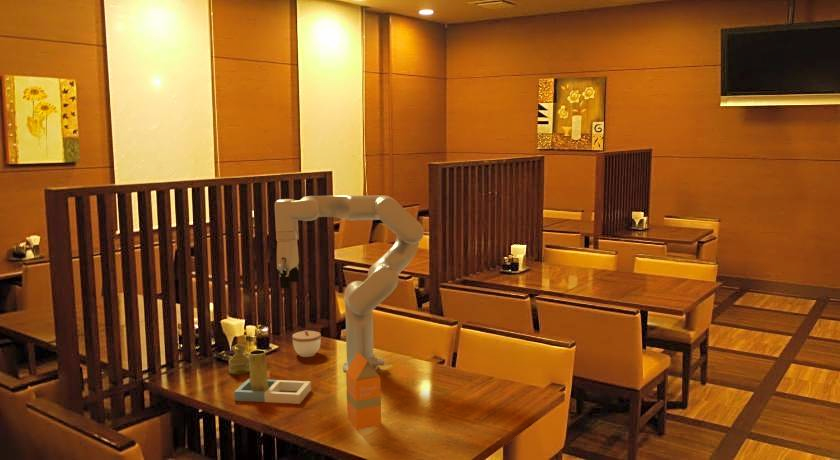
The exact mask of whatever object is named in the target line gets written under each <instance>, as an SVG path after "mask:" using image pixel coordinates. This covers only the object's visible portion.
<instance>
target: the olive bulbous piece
mask: <svg viewBox="0 0 840 460" xmlns="http://www.w3.org/2000/svg"><path fill="white" fill-rule="evenodd" d="M246 348H247V347H246V345H244V344H241V343H236V344H234V345H232V346H231V349H230V350H231V351H233V352H234V354H233V356H232V357H231V358H229V360H228V371H229V374H232V375H236V376H237V375H239V376H240V375H245V374H247V373H250V367H249V356H247V355H246V354H245V353H243V352H244V351H245V350H246Z"/></svg>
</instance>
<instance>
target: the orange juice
mask: <svg viewBox="0 0 840 460" xmlns="http://www.w3.org/2000/svg"><path fill="white" fill-rule="evenodd" d="M345 378H346V379H345V381H346V405H347V406H346V408H347V410H346V412H347V413H346V414H347V416H346V417H347V420H348V421H349V422H350V423H351V424H352V426H353V427H354V428H355V429H356V430H362V429H363V430H364V429H367V428H372V427H378V426H382V394H381V393H382V392H381V389H382V387H381V376H380V375H379V373H378V372H377V370H374V368H373V367H372V366H371V364H370V363H369V362H368V361H367V360H366V359H365V358H364V357H363V356H362V355H361V354H360V353H357V355H356V357H355V358H354V360H353V362H352V363H351V365H350V367H349V368H348V370H347V371H346V372H345Z"/></svg>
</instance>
